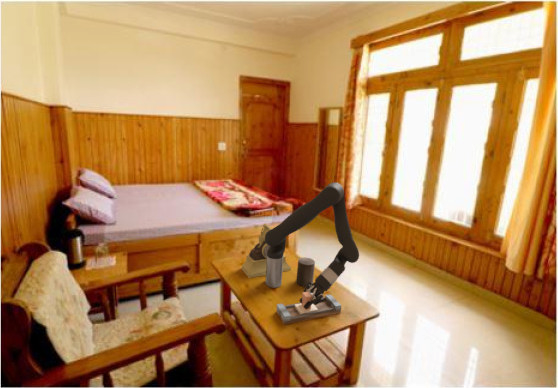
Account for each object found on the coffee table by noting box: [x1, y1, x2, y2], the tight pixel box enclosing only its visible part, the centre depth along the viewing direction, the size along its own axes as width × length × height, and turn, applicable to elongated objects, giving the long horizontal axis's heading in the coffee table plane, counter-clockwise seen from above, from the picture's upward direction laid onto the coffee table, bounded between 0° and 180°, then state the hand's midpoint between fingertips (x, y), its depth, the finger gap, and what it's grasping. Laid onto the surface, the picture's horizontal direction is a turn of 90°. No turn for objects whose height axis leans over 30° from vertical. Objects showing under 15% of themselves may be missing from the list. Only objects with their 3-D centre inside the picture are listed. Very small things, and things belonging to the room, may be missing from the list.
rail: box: [276, 293, 342, 325], centre depth 143 cm, size 10×30×4 cm, turn 112°
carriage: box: [294, 292, 318, 314], centre depth 141 cm, size 7×9×8 cm
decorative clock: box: [241, 223, 292, 279], centre depth 181 cm, size 28×13×30 cm, turn 117°
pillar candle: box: [295, 256, 316, 288], centre depth 169 cm, size 10×10×15 cm
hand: (302, 305), depth 141 cm, fingers closed on carriage, 4 cm apart
